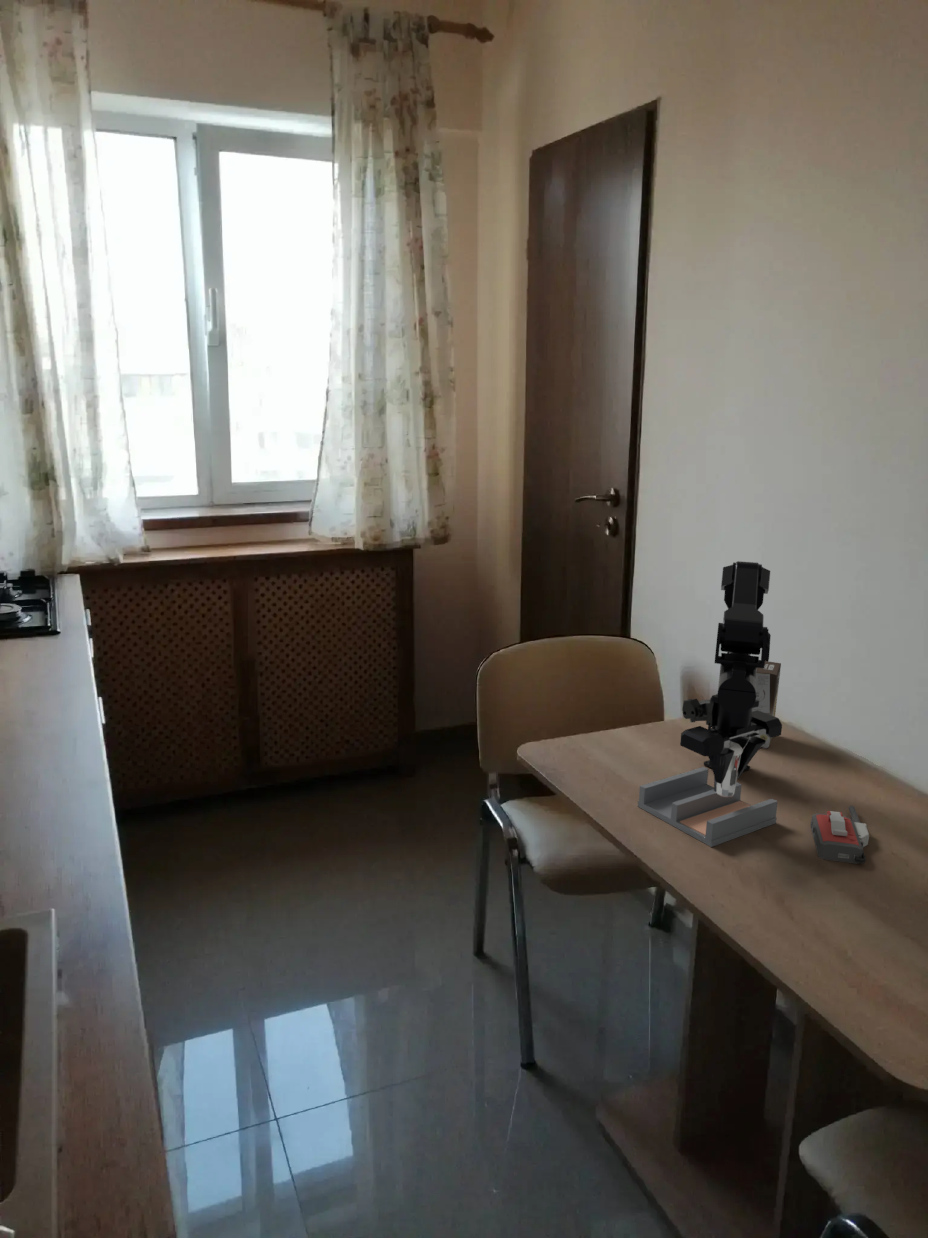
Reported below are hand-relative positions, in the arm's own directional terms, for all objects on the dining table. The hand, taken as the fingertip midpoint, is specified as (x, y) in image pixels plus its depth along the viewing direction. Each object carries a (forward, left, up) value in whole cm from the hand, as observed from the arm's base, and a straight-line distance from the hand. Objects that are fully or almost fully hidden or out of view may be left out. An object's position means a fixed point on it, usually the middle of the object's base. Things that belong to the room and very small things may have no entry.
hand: (727, 780), depth 155 cm
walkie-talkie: (-13, +13, -9) cm, 21 cm away
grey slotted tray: (0, -4, -8) cm, 9 cm away
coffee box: (-36, -23, -8) cm, 43 cm away
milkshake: (0, 0, -3) cm, 3 cm away
